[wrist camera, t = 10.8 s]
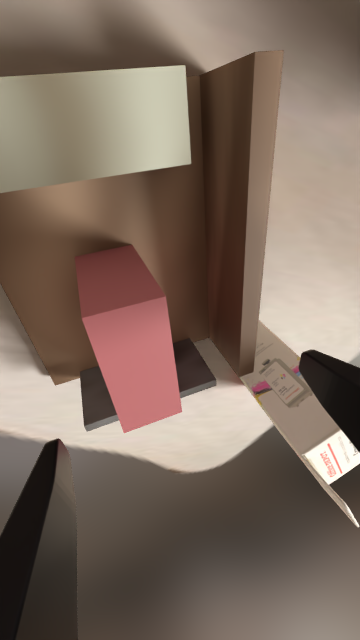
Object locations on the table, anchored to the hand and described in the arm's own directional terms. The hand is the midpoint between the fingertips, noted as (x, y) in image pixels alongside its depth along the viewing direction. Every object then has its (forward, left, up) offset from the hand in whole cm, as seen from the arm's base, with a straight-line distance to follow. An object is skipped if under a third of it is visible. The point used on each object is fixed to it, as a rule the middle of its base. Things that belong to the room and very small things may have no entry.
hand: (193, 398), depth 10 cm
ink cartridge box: (-11, +12, -12) cm, 20 cm away
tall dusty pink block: (+1, +2, -11) cm, 11 cm away
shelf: (0, -1, -12) cm, 12 cm away
